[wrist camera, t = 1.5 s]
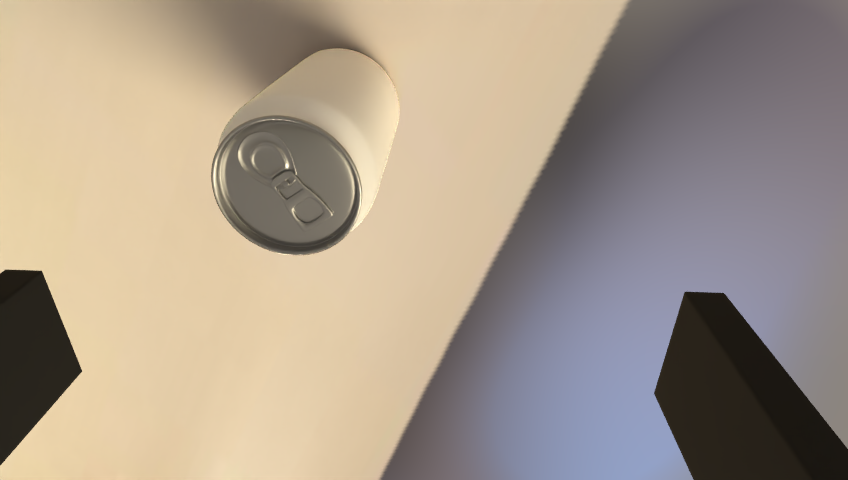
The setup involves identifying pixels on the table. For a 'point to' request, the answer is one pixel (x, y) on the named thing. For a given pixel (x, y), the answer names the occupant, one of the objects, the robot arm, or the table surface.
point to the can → (307, 153)
